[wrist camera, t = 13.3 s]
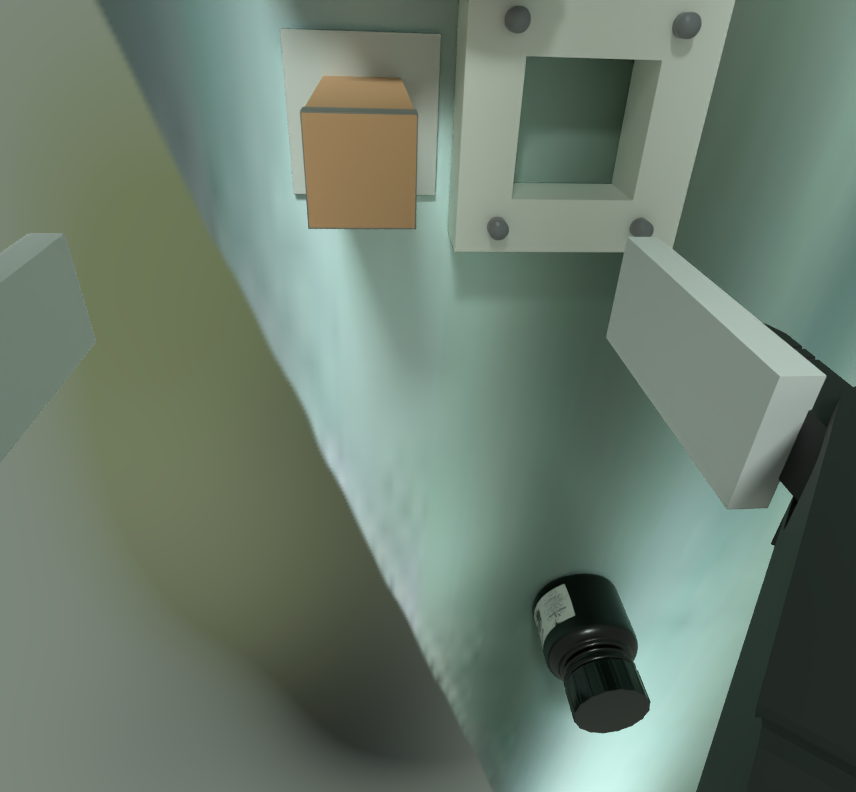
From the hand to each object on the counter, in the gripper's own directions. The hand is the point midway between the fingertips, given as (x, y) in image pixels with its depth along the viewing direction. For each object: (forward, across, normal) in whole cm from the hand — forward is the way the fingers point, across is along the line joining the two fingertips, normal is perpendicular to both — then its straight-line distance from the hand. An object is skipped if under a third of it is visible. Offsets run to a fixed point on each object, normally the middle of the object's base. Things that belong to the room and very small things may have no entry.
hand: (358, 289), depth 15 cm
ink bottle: (+27, +20, -46) cm, 57 cm away
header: (+27, +12, 0) cm, 29 cm away
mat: (+27, 0, 0) cm, 27 cm away
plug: (+26, 0, 0) cm, 26 cm away
